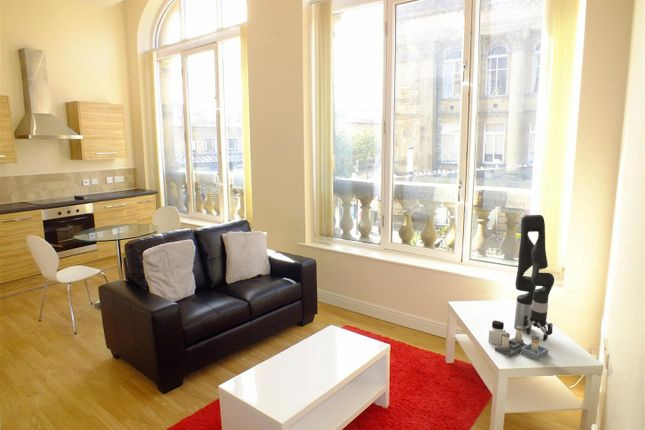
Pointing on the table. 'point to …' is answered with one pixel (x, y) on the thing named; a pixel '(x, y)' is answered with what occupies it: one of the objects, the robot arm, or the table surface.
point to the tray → (541, 353)
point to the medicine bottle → (496, 332)
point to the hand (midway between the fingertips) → (536, 337)
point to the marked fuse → (535, 344)
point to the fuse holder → (511, 343)
